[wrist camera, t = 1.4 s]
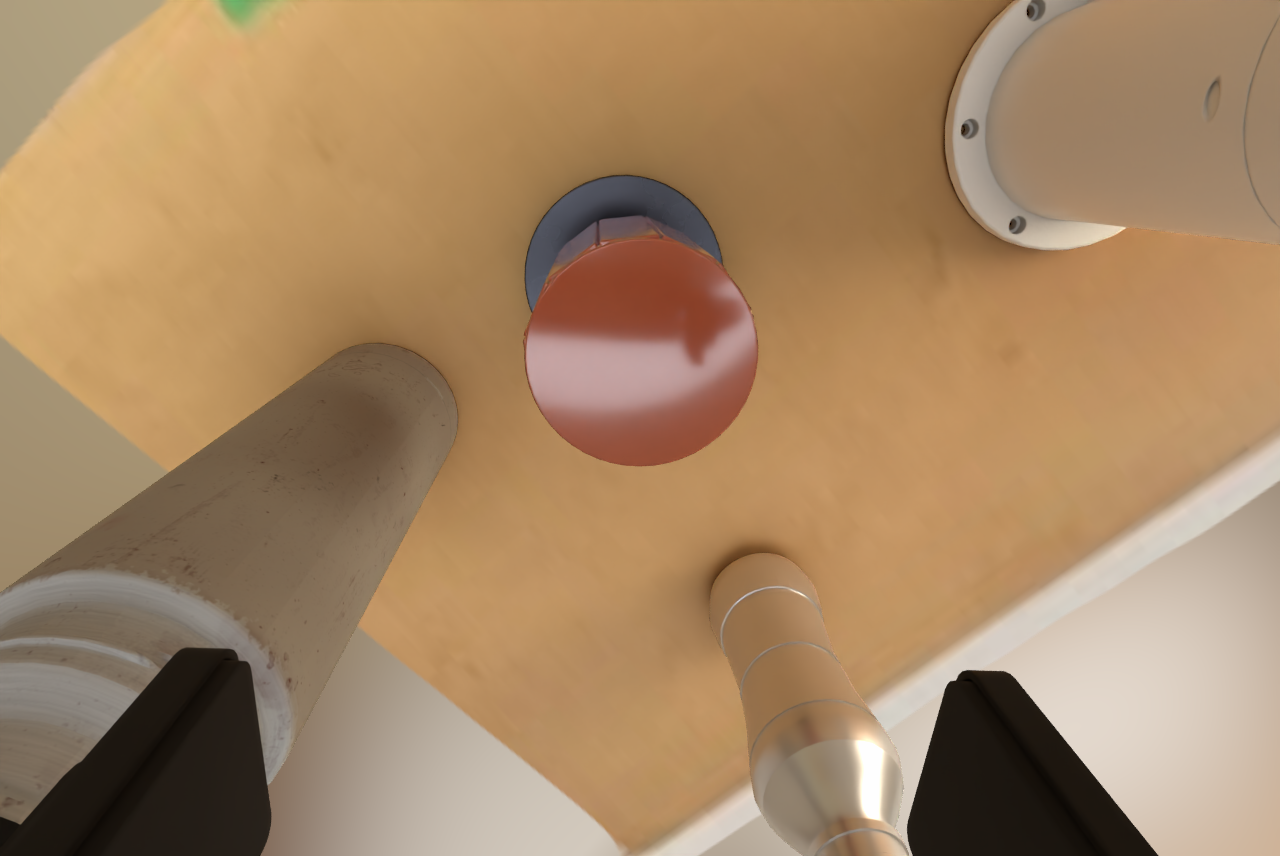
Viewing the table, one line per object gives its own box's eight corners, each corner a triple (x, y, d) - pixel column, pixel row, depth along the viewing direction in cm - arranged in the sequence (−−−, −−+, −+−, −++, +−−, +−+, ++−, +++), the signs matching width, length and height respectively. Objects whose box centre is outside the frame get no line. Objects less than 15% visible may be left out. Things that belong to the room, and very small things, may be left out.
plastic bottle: (708, 637, 45) (786, 979, 26) (698, 545, 42) (776, 847, 23) (808, 624, 45) (959, 955, 26) (804, 531, 42) (967, 821, 23)
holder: (570, 139, 34) (548, 118, 19) (753, 226, 36) (863, 269, 21) (498, 326, 37) (430, 436, 22) (670, 397, 39) (715, 543, 24)
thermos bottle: (366, 503, 40) (-77, 1143, 14) (277, 386, 37) (-481, 901, 11) (486, 440, 39) (255, 998, 13) (403, 315, 36) (-100, 697, 10)
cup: (584, 187, 28) (578, 196, 19) (741, 260, 29) (800, 298, 21) (521, 346, 30) (490, 417, 21) (670, 408, 31) (696, 498, 23)
